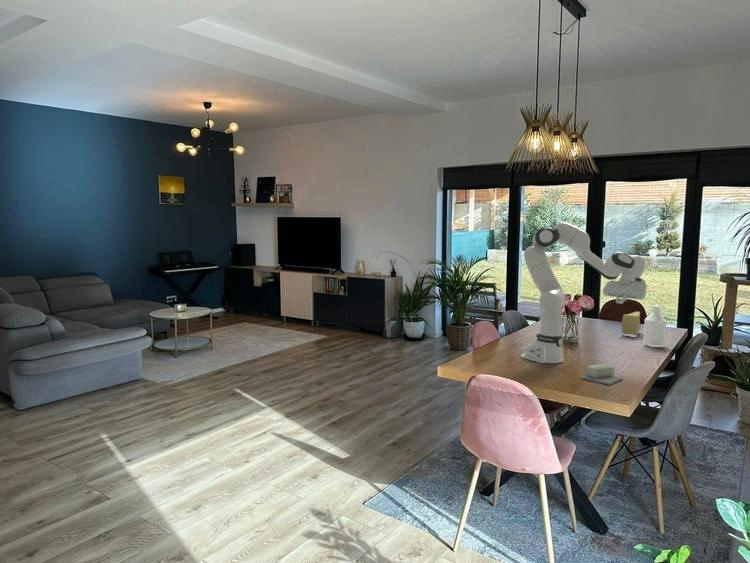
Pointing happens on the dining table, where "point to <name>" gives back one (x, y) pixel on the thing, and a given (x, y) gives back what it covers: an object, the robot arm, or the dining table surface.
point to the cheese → (631, 323)
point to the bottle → (655, 327)
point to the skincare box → (600, 370)
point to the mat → (602, 379)
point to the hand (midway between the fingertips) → (618, 302)
